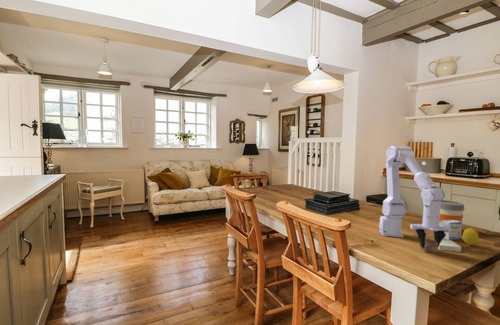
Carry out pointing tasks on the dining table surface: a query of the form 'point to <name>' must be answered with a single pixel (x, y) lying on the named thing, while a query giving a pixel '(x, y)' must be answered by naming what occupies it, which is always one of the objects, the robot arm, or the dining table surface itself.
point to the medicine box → (452, 229)
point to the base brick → (449, 246)
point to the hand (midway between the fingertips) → (428, 247)
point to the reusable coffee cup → (451, 211)
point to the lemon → (470, 236)
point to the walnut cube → (430, 246)
